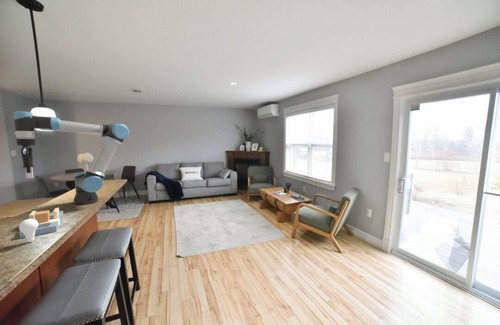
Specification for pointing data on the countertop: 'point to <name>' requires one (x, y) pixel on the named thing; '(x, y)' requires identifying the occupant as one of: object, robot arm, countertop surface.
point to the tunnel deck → (51, 227)
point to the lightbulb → (29, 229)
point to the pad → (48, 223)
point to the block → (42, 216)
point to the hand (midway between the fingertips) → (29, 177)
